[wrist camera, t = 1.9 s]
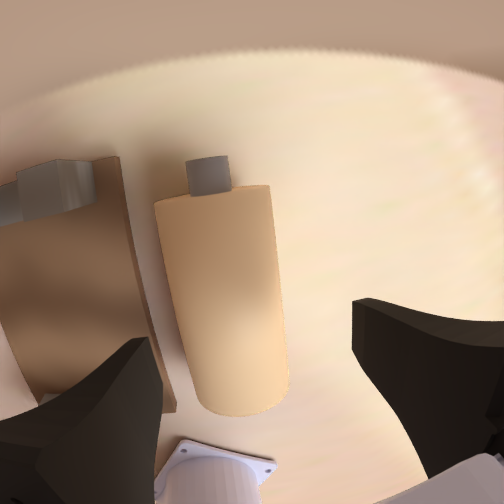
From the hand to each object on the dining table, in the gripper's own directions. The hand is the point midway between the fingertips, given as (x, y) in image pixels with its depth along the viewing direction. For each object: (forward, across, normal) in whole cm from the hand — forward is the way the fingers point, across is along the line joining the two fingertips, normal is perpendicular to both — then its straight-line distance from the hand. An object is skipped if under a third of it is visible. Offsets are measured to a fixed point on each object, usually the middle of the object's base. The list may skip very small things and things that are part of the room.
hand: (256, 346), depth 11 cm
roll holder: (+7, +10, 0) cm, 12 cm away
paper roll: (+4, +1, 0) cm, 4 cm away
